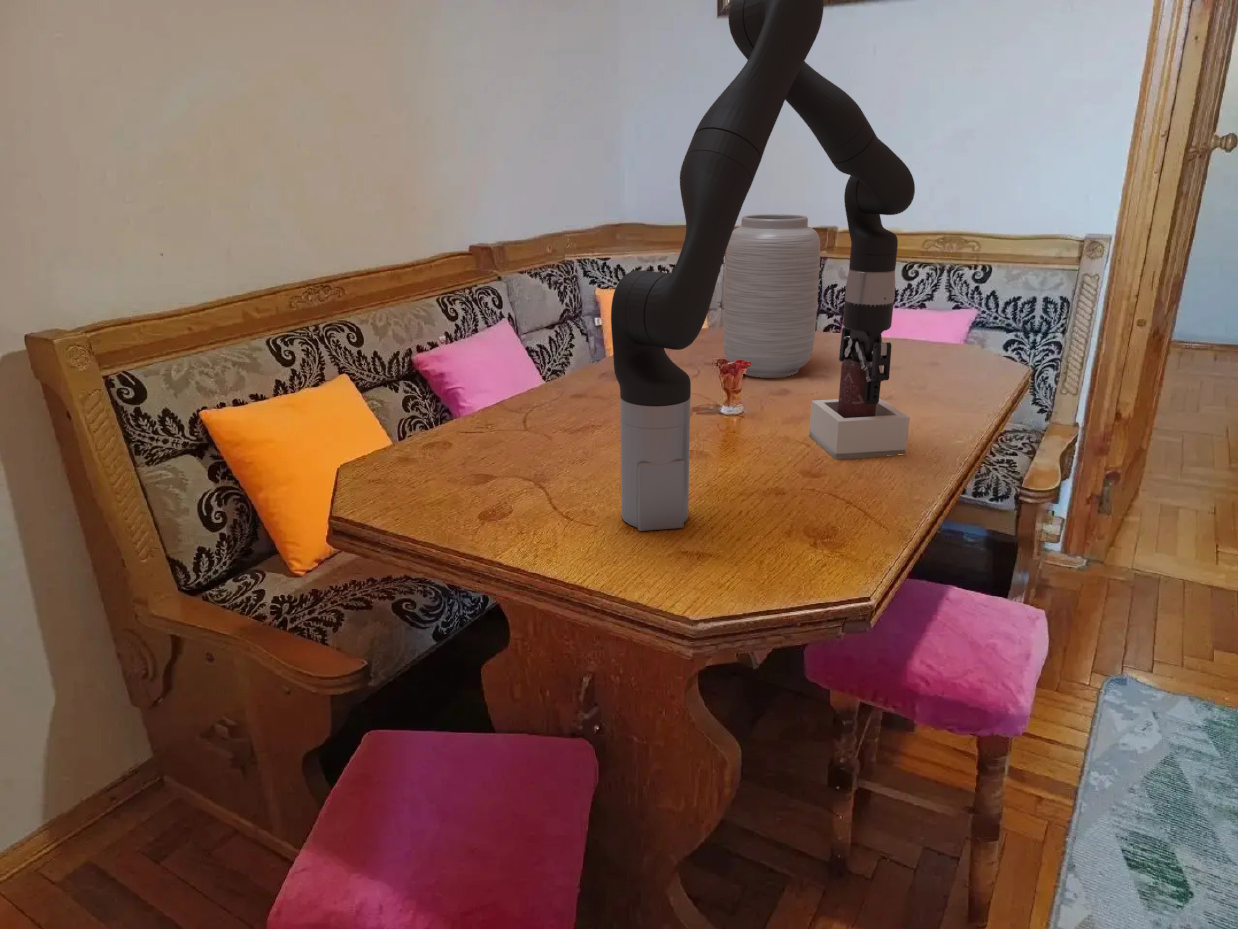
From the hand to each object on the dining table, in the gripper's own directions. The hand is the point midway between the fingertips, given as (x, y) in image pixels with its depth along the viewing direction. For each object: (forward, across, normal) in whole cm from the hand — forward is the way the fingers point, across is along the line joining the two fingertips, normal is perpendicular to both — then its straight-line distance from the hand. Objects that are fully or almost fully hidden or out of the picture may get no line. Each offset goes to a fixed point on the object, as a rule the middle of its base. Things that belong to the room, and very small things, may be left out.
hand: (860, 396), depth 140 cm
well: (+9, 0, 0) cm, 9 cm away
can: (+8, 0, 0) cm, 8 cm away
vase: (+9, +52, -1) cm, 53 cm away
